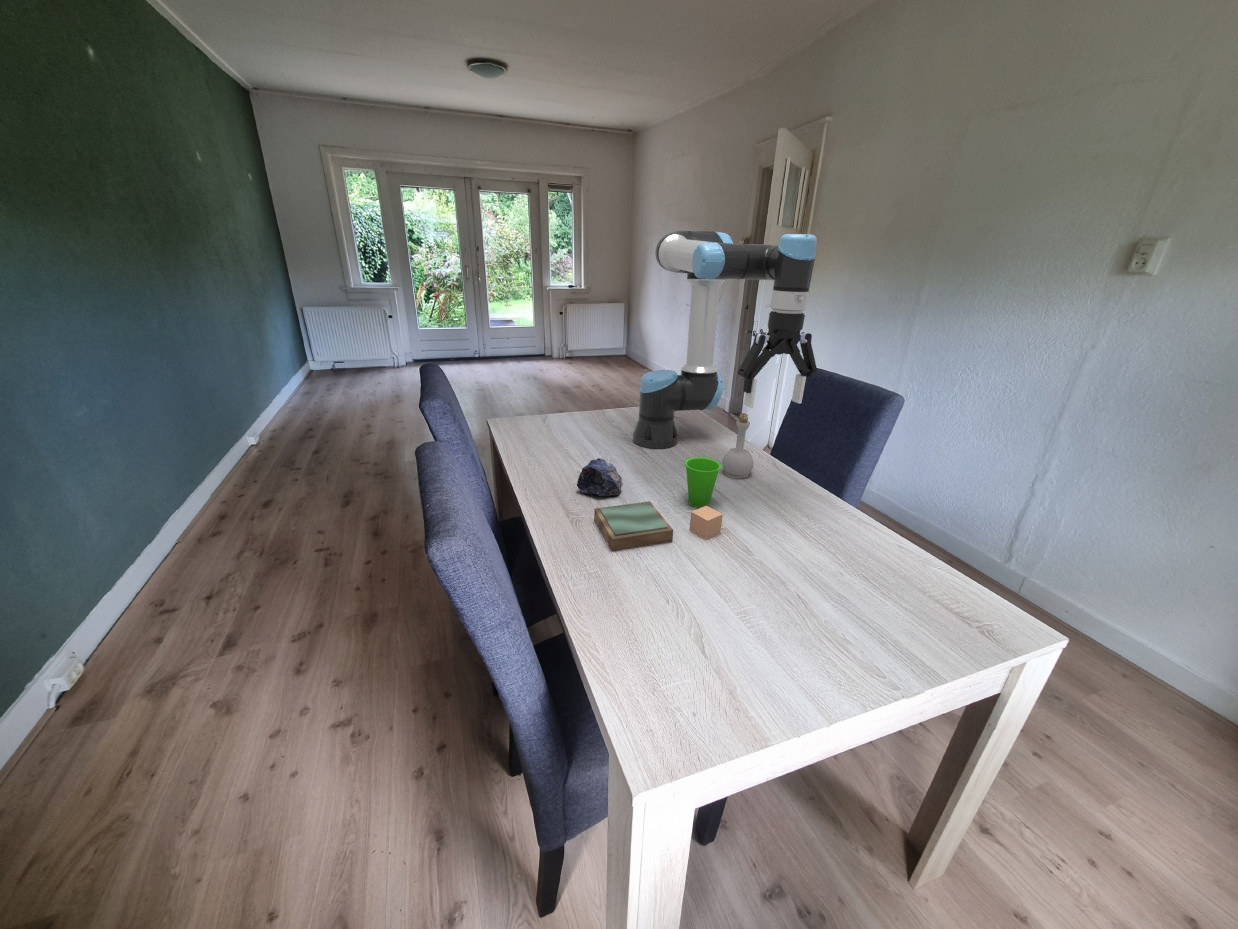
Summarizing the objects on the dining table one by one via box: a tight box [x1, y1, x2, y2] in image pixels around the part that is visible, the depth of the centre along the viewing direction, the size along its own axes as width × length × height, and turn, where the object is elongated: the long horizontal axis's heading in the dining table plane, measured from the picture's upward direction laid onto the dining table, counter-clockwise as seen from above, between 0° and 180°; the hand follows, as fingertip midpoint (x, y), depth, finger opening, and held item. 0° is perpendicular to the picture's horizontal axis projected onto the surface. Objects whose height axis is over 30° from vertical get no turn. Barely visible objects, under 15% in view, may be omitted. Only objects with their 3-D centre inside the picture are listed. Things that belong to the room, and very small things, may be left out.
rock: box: [576, 457, 624, 497], centre depth 129 cm, size 11×10×10 cm
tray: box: [593, 500, 674, 552], centre depth 112 cm, size 14×14×3 cm
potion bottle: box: [721, 412, 755, 479], centre depth 140 cm, size 9×9×18 cm
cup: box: [684, 456, 723, 509], centre depth 124 cm, size 9×9×11 cm
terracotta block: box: [689, 505, 724, 541], centre depth 112 cm, size 5×5×5 cm
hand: (772, 404), depth 117 cm, fingers open, 13 cm apart
